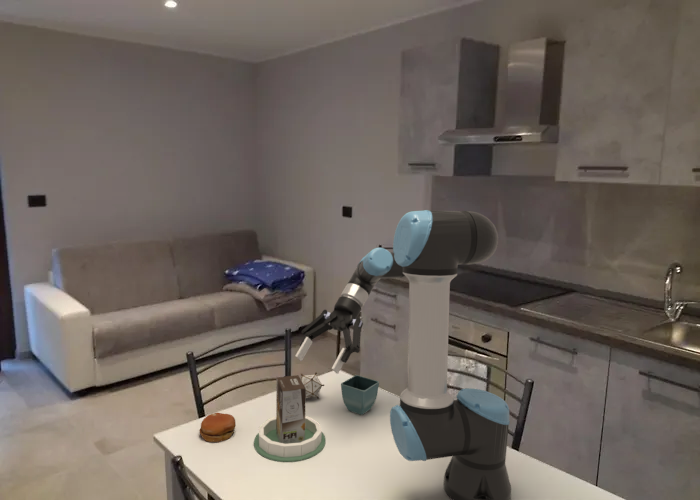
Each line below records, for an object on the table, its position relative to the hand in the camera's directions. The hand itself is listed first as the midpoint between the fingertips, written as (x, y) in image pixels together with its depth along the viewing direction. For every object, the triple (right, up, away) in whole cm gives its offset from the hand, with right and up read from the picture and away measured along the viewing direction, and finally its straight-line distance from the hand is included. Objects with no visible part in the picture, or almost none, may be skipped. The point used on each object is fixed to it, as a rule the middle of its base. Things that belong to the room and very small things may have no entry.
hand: (315, 364), depth 139 cm
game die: (-4, -16, +22) cm, 27 cm away
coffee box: (-7, -19, -4) cm, 21 cm away
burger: (-27, -19, -2) cm, 33 cm away
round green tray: (-7, -20, -5) cm, 21 cm away
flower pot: (+12, -17, +14) cm, 26 cm away
